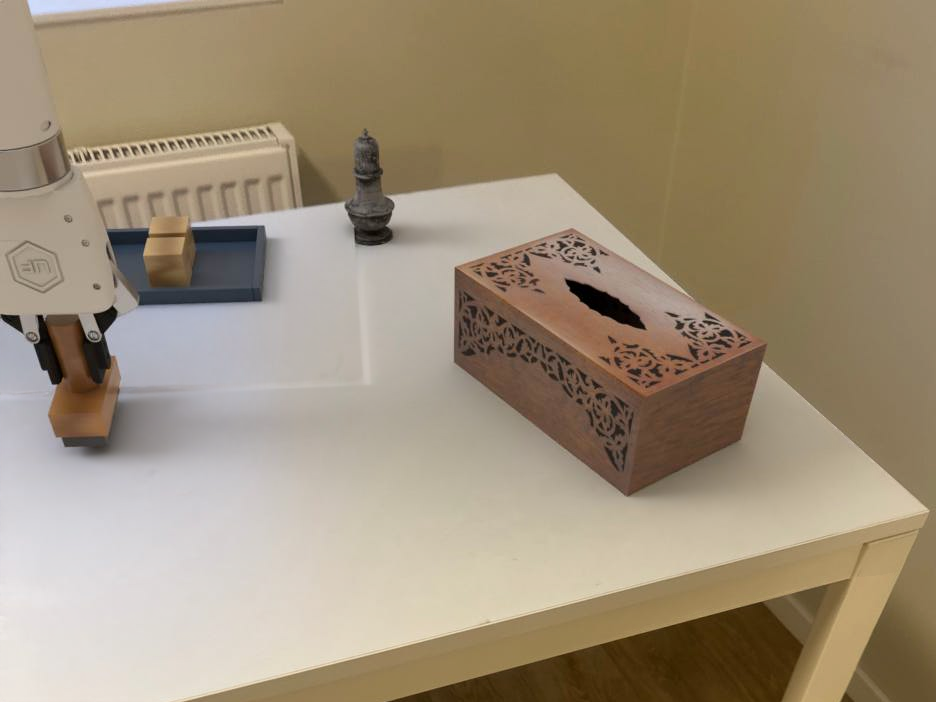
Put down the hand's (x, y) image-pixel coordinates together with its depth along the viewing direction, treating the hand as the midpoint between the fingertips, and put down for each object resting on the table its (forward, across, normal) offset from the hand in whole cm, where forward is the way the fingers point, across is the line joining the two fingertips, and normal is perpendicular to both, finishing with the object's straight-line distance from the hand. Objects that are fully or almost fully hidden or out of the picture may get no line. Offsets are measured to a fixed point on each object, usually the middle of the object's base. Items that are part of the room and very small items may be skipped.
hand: (79, 373), depth 84 cm
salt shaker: (+6, +26, +37) cm, 46 cm away
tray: (+6, +4, +28) cm, 29 cm away
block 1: (+5, +4, +30) cm, 31 cm away
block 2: (+5, +4, +25) cm, 26 cm away
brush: (+5, 0, 0) cm, 5 cm away
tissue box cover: (+5, +46, +1) cm, 47 cm away
